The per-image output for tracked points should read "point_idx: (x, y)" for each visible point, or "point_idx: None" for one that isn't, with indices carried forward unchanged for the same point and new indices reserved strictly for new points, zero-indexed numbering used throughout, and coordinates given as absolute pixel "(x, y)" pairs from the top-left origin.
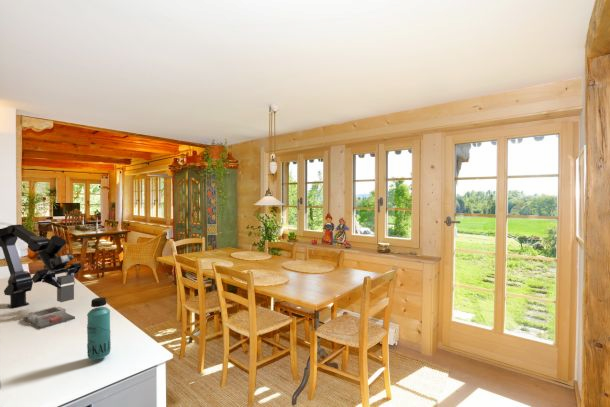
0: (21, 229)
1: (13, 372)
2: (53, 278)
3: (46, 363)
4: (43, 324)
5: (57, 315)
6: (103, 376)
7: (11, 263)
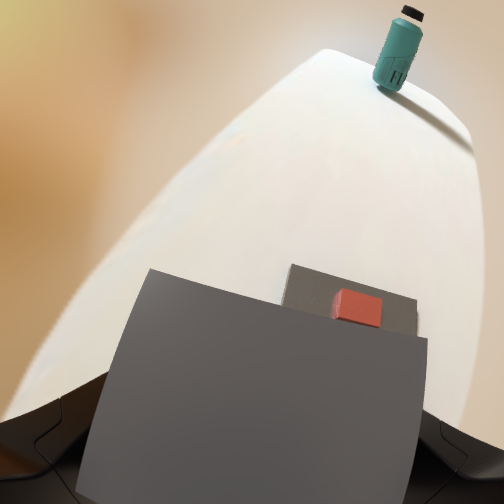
0: None
1: (469, 161)
2: (482, 448)
3: (437, 137)
4: (403, 312)
5: None
6: None
7: None
